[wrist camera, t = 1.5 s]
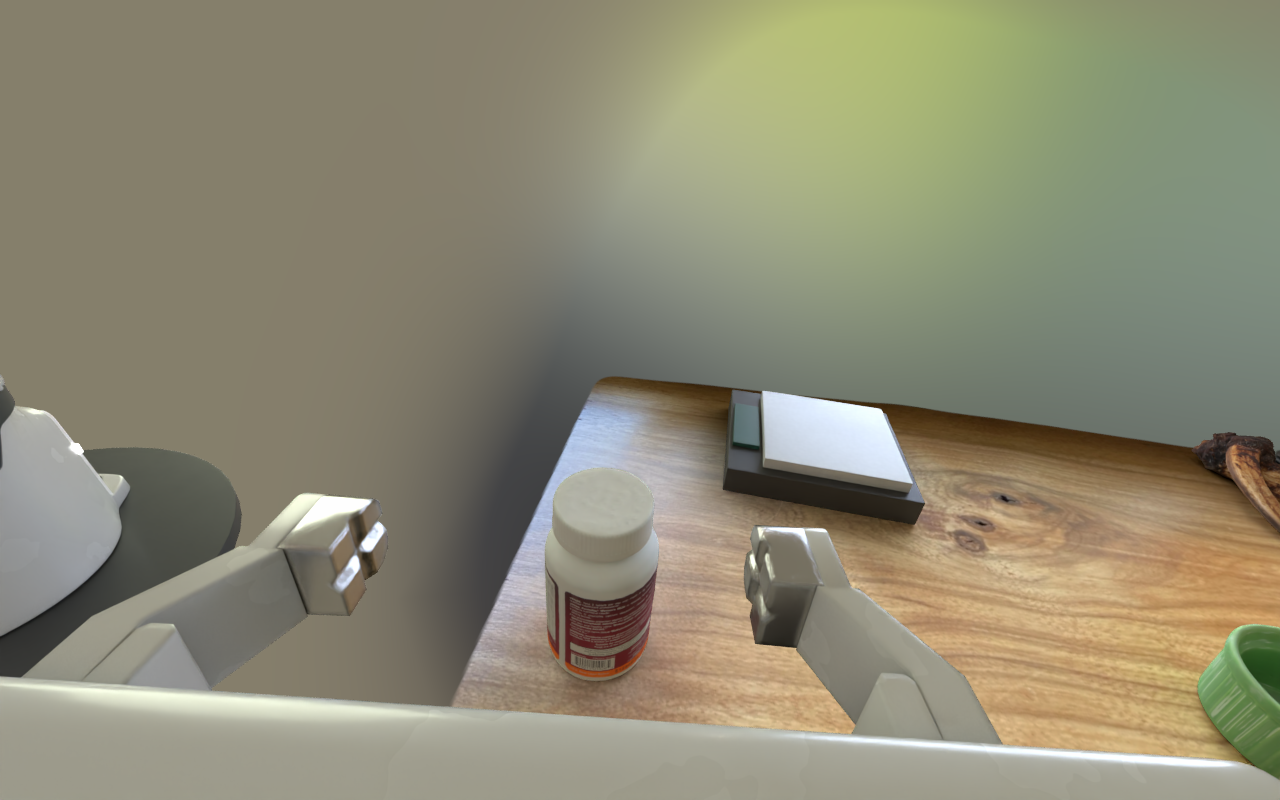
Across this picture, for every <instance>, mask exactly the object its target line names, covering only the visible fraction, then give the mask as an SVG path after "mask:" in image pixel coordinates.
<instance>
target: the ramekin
mask: <svg viewBox="0 0 1280 800" xmlns="http://www.w3.org/2000/svg"><path fill="white" fill-rule="evenodd" d="M1198 694H1199V698H1200V701H1201V703H1202V705H1203V707H1204V709H1205V711H1206V713H1207V715H1208V716H1209V718H1210V719H1211V721H1212V722H1213V724H1214V725H1215V726H1216V728H1217V729H1218V730H1219V731H1220V732H1221V734H1222V735H1223V736H1224V737H1225V738H1226V739H1227V740H1228V741H1229V742H1230V743H1231V744H1232V745H1233V746H1234V747H1235V748H1236V749H1237V750H1238V751H1239V752H1240V753H1241V754H1242V755H1243V756H1244V757H1245V758H1247V759H1248V760H1249V761H1250V762H1251V763H1252V764H1254V765H1255V766H1256V767H1257V768H1259V769H1261V770H1263V771H1265V772H1267V773H1269V774H1270V775H1272V776H1274V777H1275V778H1277V779H1279V780H1280V628H1278V627H1273V626H1268V625H1258V624H1251V625H1244V626H1241V627H1238V628H1236V629H1235V630H1233V631H1232V632H1231V634H1230V635H1229V637H1228V638H1227V640H1226V643H1225V647H1224V649H1223V650H1222V651H1221V652H1220V653H1219V654H1218V656H1217V657H1216V658H1215V659H1214V660H1213V661H1212V663H1211V664H1210V665H1209V666H1208V668H1207V669H1206V670H1205V671H1204V673H1203V674H1202V675H1201V677H1200V679H1199V682H1198Z"/></svg>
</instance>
